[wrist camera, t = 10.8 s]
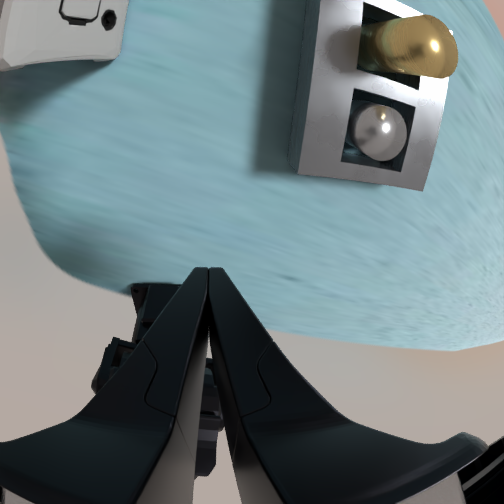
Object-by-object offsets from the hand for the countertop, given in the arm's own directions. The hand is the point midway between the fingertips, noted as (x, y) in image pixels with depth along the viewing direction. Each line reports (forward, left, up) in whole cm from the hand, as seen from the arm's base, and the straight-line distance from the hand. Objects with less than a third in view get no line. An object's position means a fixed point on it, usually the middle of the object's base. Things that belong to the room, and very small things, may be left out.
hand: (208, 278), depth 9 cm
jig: (+7, -10, -12) cm, 17 cm away
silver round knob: (+4, -10, -12) cm, 16 cm away
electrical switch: (+12, +9, -12) cm, 19 cm away
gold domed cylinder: (+10, -10, -12) cm, 18 cm away
